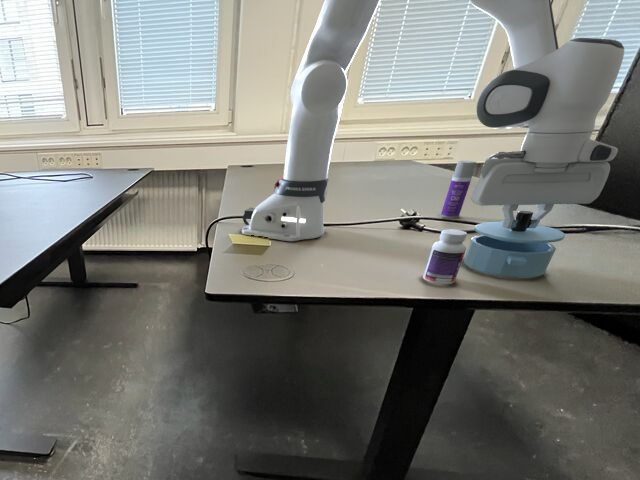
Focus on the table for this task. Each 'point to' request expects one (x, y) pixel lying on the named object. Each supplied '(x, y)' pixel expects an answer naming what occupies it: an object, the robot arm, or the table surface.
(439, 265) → the pill bottle
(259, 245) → the table surface
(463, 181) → the container
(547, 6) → the robot arm
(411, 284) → the table surface
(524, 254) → the pan
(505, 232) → the pan lid
